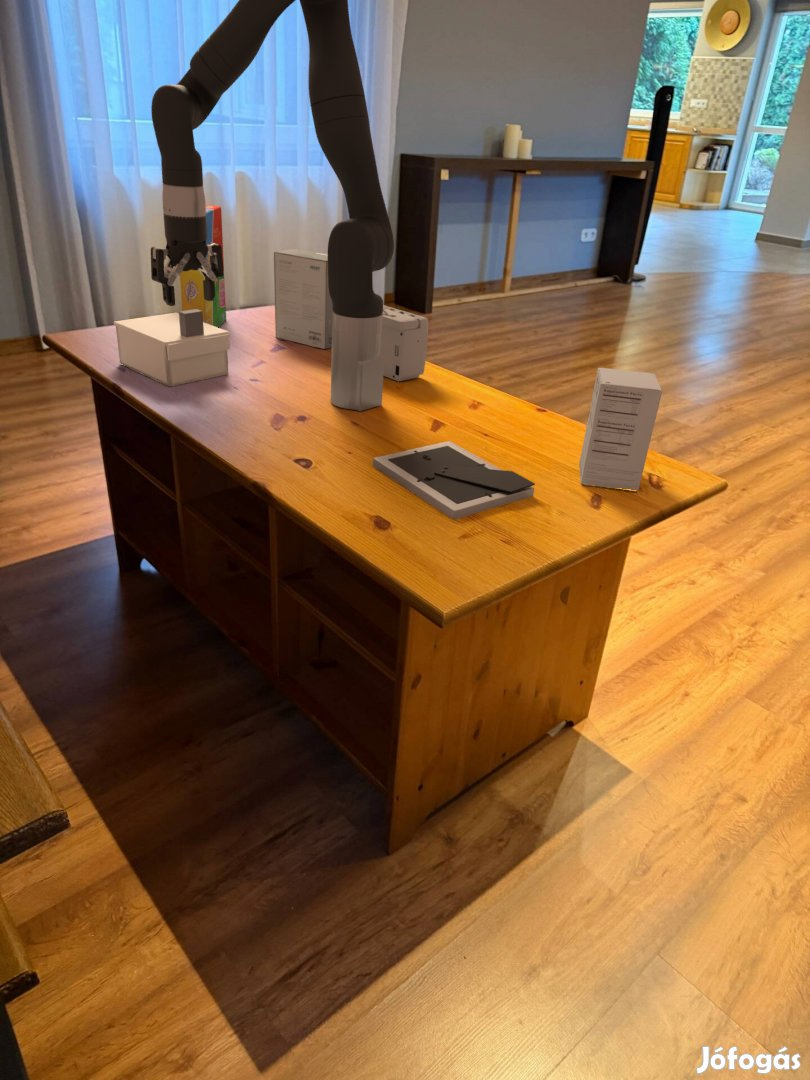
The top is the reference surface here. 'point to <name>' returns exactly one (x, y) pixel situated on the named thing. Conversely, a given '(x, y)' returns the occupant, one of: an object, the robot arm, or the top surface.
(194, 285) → the game box
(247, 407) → the top surface
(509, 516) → the top surface
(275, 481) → the top surface
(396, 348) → the stereo radio cassette player
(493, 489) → the picture frame
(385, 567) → the top surface
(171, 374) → the mailer box
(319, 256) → the hard drive box
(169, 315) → the mailer lid
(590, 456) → the supplement box
